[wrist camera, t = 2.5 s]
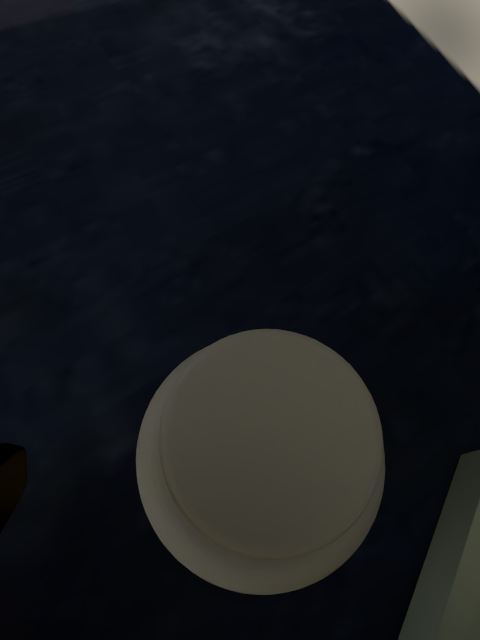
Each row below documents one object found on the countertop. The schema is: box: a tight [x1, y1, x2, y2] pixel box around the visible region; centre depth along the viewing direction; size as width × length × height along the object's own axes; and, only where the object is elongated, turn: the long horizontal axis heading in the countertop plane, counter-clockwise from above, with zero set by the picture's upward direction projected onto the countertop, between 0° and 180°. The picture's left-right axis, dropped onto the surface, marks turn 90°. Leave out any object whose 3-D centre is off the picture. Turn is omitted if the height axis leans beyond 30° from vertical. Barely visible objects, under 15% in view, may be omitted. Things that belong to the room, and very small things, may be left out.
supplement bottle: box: [136, 329, 385, 595], centre depth 13 cm, size 6×6×10 cm
